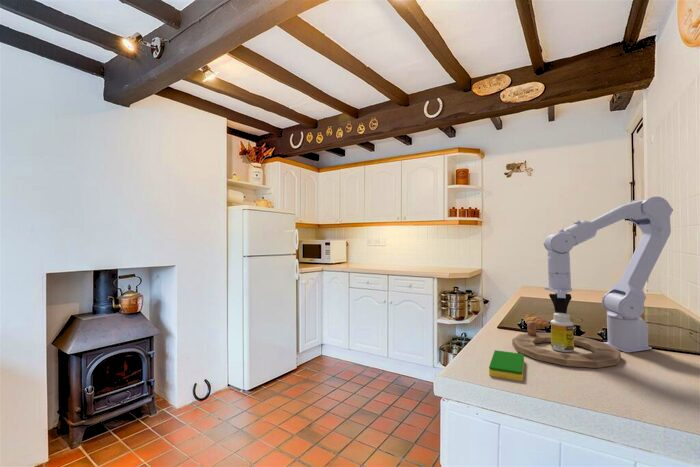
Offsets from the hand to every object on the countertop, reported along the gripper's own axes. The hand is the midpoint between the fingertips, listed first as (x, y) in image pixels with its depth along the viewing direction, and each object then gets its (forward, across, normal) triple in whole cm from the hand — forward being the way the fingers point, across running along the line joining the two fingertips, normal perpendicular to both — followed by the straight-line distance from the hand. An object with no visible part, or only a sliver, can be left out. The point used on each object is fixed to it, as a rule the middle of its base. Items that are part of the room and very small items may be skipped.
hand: (560, 318), depth 100 cm
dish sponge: (+9, +26, -13) cm, 31 cm away
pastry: (+8, -20, -7) cm, 23 cm away
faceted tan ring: (+8, +6, 0) cm, 10 cm away
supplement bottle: (+8, +5, 0) cm, 9 cm away
